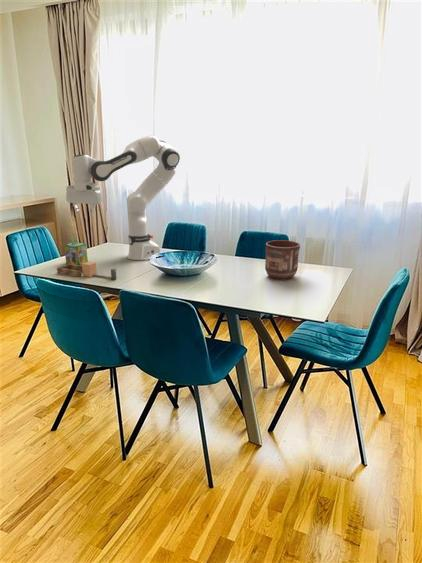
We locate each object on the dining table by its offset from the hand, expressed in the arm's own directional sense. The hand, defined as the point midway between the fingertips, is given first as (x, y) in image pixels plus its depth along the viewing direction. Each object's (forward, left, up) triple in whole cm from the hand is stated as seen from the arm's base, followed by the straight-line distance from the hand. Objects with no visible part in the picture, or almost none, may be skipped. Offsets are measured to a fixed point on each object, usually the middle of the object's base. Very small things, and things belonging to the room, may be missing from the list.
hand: (85, 211), depth 227 cm
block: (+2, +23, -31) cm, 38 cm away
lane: (+11, +8, -31) cm, 34 cm away
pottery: (-76, +76, -31) cm, 112 cm away
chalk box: (+4, -10, -31) cm, 33 cm away
